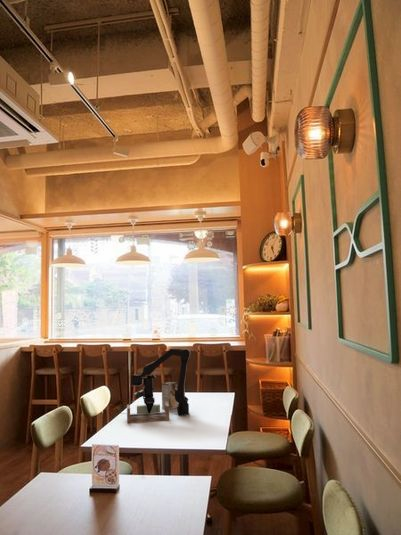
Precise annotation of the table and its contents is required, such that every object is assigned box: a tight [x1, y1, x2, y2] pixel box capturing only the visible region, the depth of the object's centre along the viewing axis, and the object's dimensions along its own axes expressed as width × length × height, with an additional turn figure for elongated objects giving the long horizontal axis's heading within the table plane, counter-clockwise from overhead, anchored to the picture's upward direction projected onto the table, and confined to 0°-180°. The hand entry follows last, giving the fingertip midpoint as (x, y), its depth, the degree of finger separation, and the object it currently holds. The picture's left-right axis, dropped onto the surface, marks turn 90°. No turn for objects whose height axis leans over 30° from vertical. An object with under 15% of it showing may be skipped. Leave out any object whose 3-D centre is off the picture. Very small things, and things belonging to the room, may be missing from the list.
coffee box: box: [161, 381, 179, 411], centre depth 277 cm, size 9×6×16 cm
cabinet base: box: [126, 403, 170, 424], centre depth 248 cm, size 24×10×8 cm, turn 100°
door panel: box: [136, 403, 161, 414], centre depth 259 cm, size 14×3×6 cm, turn 100°
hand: (148, 411), depth 259 cm, fingers open, 9 cm apart
